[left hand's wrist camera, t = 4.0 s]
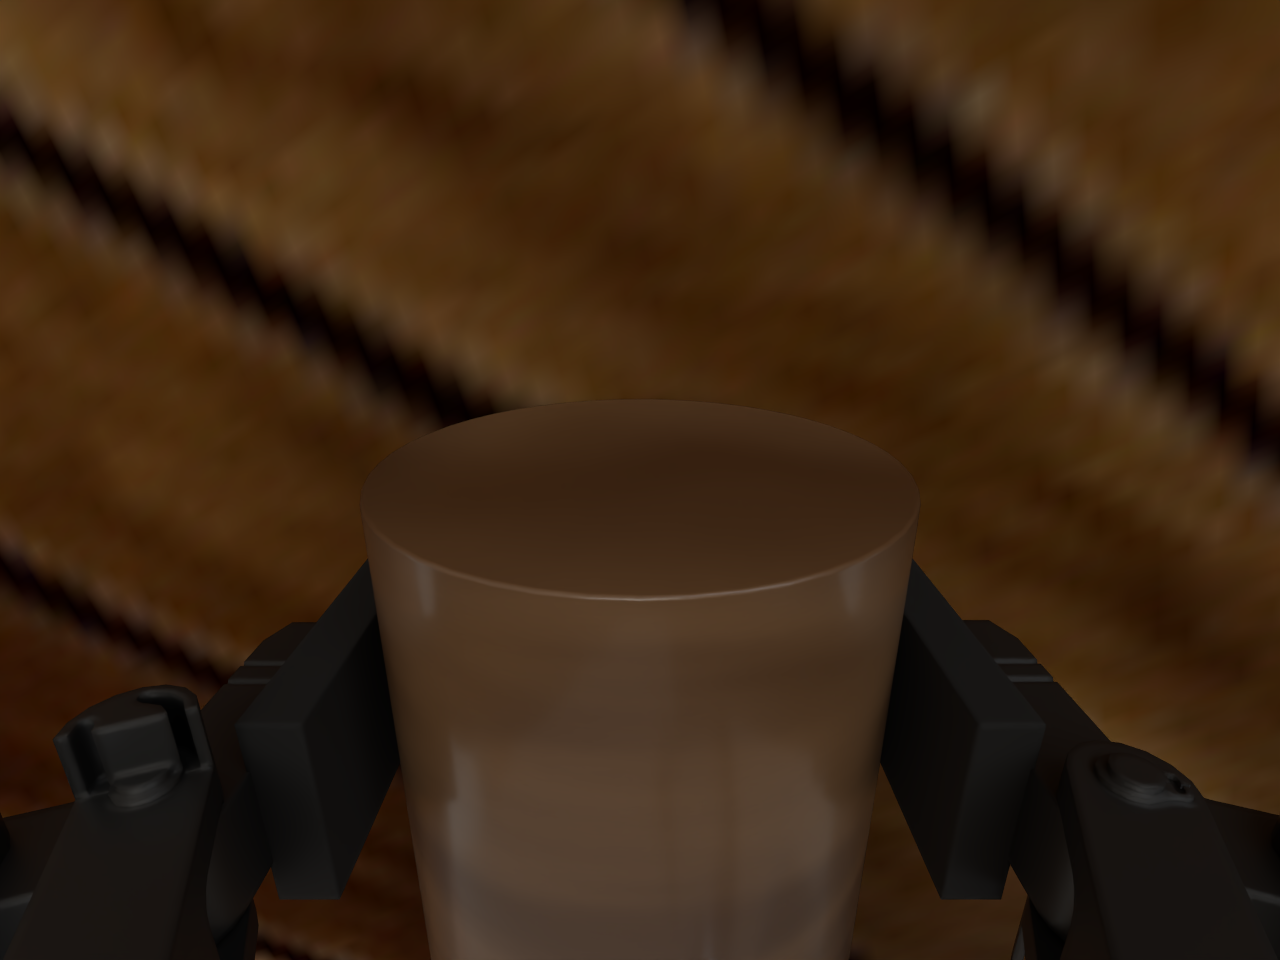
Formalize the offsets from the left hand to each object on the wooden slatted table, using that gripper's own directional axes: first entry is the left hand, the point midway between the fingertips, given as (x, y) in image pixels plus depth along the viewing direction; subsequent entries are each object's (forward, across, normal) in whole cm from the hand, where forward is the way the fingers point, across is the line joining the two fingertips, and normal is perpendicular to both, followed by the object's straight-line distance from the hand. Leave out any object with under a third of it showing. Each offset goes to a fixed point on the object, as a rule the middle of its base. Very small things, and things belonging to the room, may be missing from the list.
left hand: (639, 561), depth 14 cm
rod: (0, 0, -8) cm, 8 cm away
